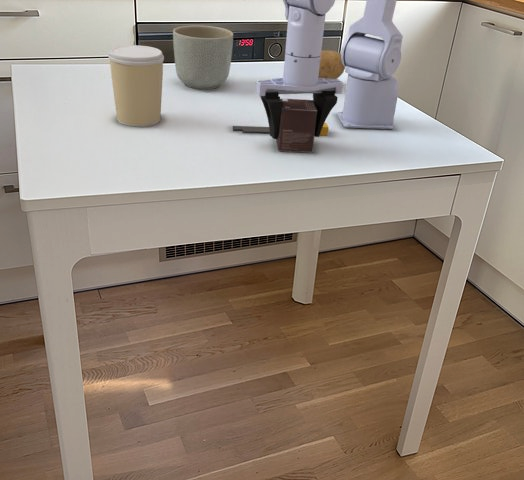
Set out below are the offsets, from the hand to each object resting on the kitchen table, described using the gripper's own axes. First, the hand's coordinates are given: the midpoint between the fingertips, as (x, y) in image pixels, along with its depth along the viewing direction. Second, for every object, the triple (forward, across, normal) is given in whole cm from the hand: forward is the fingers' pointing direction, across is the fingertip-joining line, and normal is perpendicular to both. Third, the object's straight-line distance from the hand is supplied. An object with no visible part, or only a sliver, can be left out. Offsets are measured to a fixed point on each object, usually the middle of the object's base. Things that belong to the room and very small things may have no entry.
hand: (294, 136), depth 110 cm
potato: (+2, -18, -34) cm, 38 cm away
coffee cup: (+2, +24, -17) cm, 29 cm away
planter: (+2, +7, -38) cm, 38 cm away
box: (+2, 0, 0) cm, 2 cm away
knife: (+2, 0, -7) cm, 7 cm away
